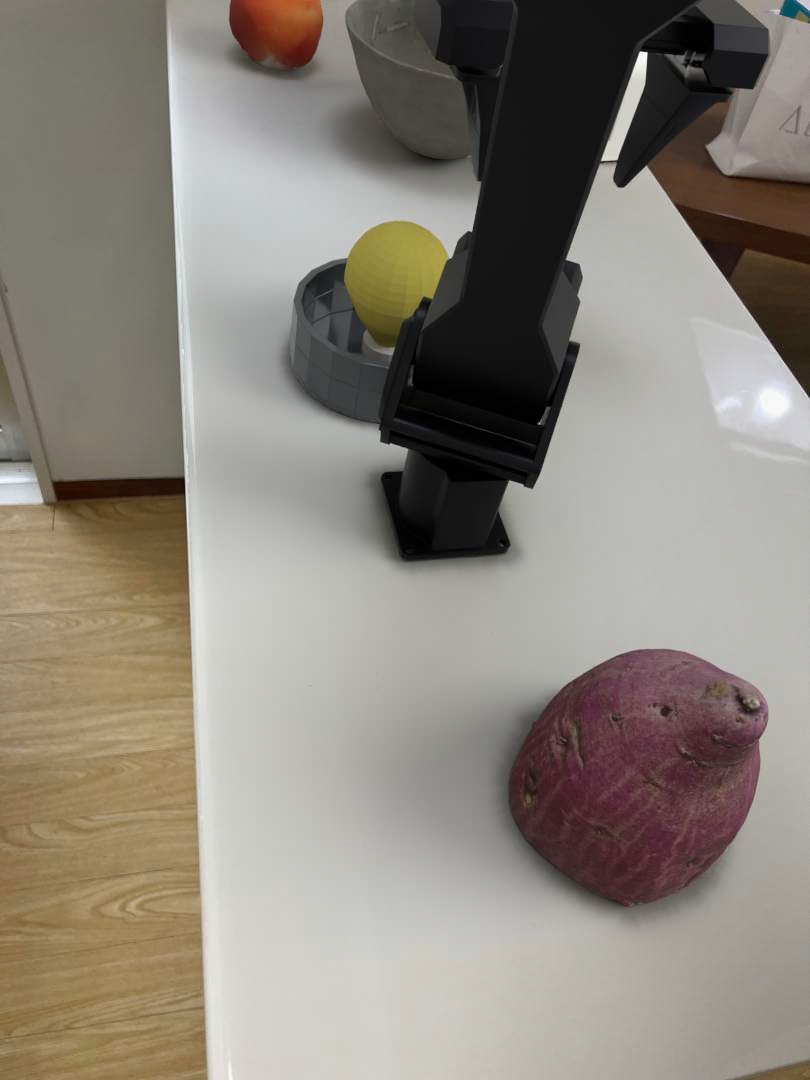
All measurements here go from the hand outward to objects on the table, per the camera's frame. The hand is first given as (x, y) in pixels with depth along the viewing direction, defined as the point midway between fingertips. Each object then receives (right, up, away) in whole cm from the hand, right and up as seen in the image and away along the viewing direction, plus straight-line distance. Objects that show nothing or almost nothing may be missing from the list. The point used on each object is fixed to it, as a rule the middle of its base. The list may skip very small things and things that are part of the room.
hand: (549, 181), depth 53 cm
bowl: (-6, +15, +29) cm, 33 cm away
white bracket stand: (+11, +17, +35) cm, 40 cm away
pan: (-11, -10, +7) cm, 16 cm away
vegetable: (+1, -34, -11) cm, 36 cm away
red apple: (-22, +27, +36) cm, 50 cm away
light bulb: (-10, -10, +6) cm, 16 cm away
